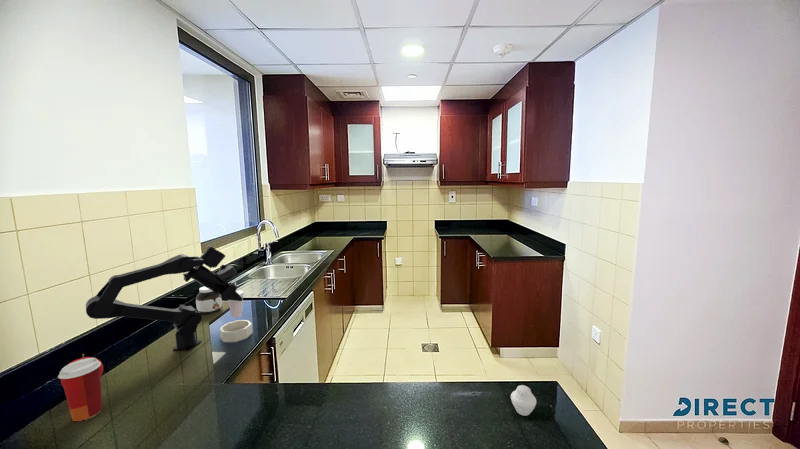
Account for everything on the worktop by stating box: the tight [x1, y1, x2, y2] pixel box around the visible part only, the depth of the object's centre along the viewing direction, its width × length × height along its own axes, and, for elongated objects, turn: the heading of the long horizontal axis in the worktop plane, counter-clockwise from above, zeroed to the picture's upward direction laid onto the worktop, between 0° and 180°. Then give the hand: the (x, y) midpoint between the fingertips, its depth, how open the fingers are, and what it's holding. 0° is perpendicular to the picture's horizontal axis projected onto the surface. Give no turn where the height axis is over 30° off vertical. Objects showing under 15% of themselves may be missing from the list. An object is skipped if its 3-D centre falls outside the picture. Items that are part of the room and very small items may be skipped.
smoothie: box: [227, 281, 245, 318], centre depth 128 cm, size 6×6×14 cm
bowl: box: [219, 319, 253, 343], centre depth 125 cm, size 11×11×4 cm
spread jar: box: [195, 286, 223, 315], centre depth 151 cm, size 12×11×12 cm
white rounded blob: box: [510, 384, 537, 417], centre depth 81 cm, size 6×6×7 cm
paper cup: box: [57, 357, 103, 422], centre depth 82 cm, size 8×8×14 cm
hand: (239, 298), depth 129 cm, fingers closed on smoothie, 6 cm apart
